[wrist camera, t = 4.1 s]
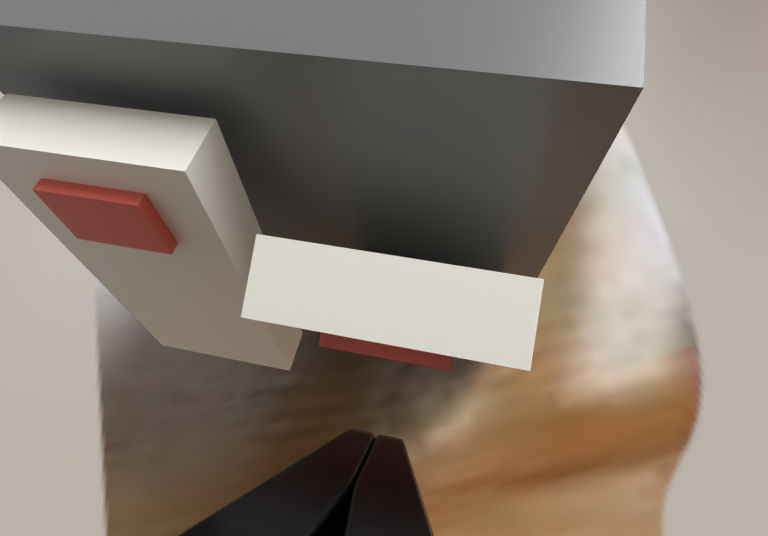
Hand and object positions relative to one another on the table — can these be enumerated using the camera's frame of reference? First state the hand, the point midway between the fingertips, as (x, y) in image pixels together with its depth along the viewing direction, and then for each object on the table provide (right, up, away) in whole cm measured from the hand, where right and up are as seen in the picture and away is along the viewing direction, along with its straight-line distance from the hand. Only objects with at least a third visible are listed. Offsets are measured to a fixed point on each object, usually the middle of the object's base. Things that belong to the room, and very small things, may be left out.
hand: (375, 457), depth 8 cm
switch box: (0, +3, +14) cm, 14 cm away
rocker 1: (-4, +1, +7) cm, 9 cm away
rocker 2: (+1, +2, +7) cm, 7 cm away
